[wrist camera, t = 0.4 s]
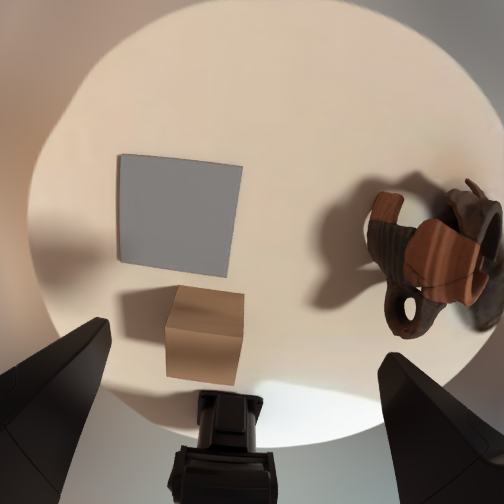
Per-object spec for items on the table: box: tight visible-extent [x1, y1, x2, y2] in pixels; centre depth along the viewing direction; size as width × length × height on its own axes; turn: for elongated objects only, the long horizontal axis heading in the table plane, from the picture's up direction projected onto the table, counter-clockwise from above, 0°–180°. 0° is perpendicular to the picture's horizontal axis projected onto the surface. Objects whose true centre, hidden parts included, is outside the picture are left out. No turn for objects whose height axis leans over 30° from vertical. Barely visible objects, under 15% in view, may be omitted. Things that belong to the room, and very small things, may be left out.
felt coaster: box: [120, 154, 243, 278], centre depth 21 cm, size 8×8×1 cm
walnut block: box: [165, 285, 244, 386], centre depth 23 cm, size 5×5×5 cm
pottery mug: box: [367, 179, 503, 339], centre depth 20 cm, size 12×10×8 cm
